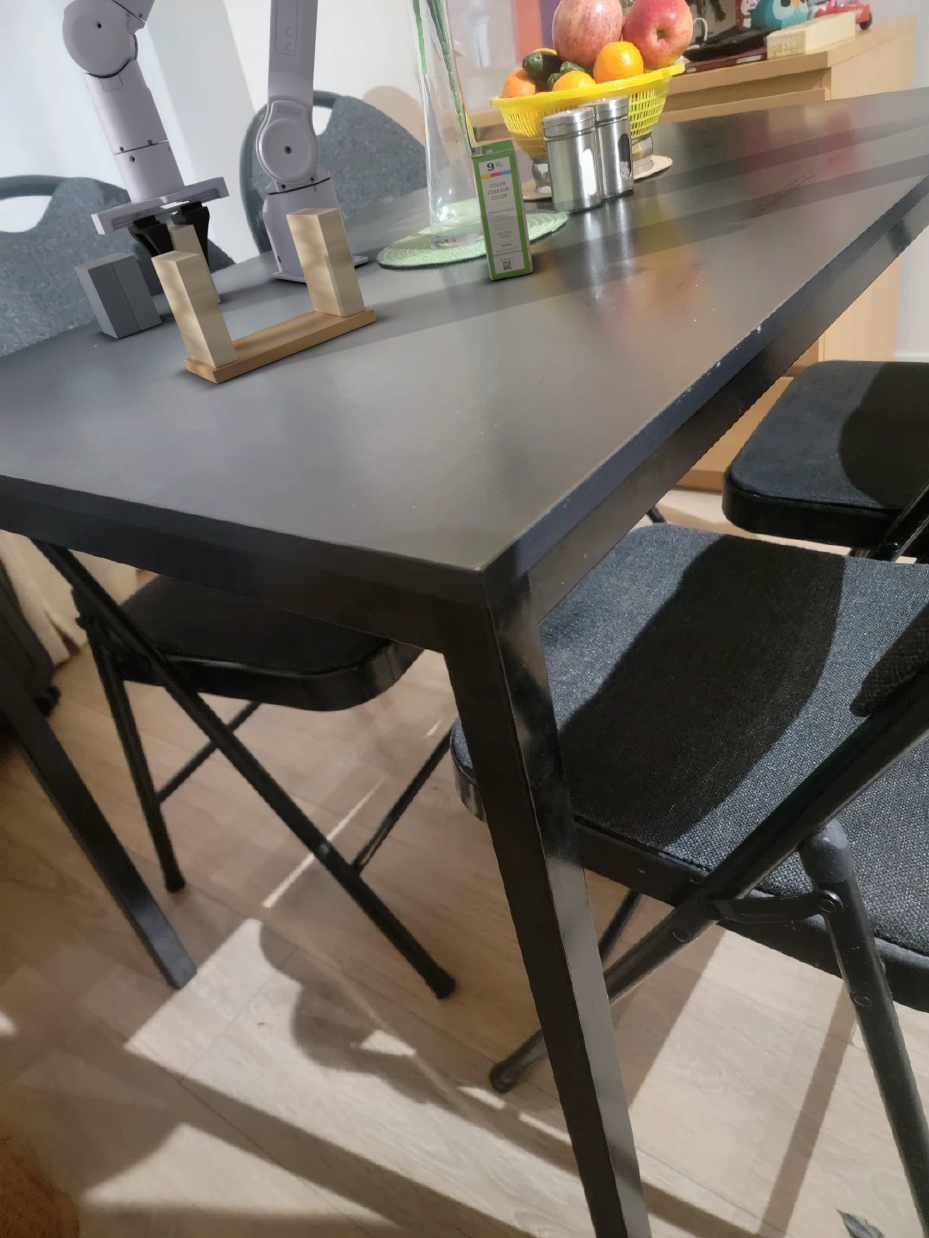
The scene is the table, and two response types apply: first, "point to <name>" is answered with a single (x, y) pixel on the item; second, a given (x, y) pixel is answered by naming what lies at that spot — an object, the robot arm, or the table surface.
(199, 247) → the cream book
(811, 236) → the table surface
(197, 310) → the book rack
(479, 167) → the ink box
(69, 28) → the robot arm
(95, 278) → the grey books
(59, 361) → the table surface
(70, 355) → the table surface
